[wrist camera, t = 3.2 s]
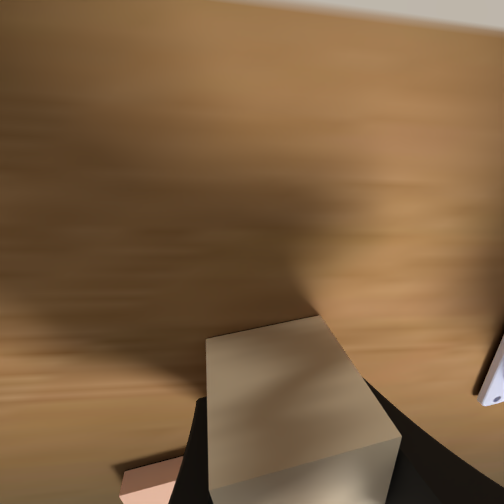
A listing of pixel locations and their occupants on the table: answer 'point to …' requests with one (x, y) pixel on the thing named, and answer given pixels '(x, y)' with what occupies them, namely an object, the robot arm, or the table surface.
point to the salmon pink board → (150, 483)
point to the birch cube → (294, 420)
